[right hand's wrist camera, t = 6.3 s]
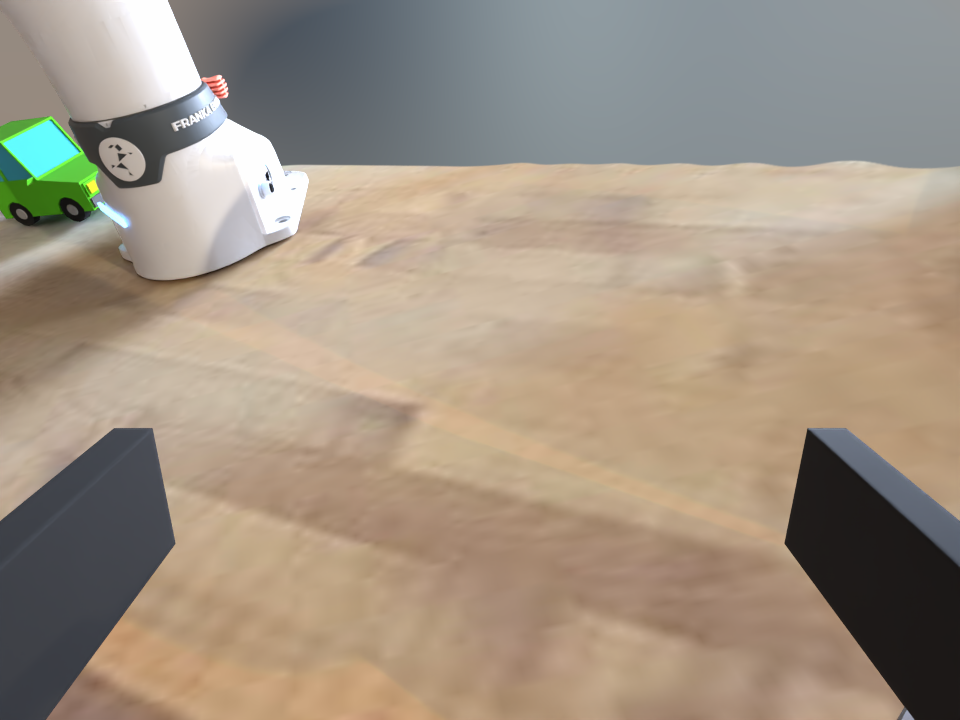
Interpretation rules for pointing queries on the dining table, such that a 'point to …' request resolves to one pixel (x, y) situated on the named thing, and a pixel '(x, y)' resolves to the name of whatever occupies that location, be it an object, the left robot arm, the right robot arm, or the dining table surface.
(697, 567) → the dining table surface
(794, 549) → the right robot arm
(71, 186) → the toy car
